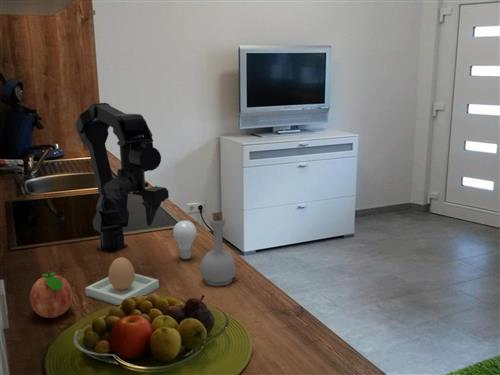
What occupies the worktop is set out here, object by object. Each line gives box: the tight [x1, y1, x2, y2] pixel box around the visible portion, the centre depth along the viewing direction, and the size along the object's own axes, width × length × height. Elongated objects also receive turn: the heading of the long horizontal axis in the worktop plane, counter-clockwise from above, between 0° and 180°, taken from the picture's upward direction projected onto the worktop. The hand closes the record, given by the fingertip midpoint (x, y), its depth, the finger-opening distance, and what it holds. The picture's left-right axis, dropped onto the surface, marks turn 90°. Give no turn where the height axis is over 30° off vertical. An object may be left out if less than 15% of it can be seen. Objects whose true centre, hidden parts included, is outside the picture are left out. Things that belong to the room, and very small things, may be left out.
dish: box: [84, 273, 160, 306], centre depth 125 cm, size 12×12×2 cm
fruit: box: [29, 270, 74, 319], centre depth 113 cm, size 9×10×10 cm
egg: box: [108, 256, 136, 290], centre depth 124 cm, size 6×6×8 cm
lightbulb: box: [172, 220, 197, 261], centre depth 143 cm, size 6×6×11 cm
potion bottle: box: [199, 211, 237, 287], centre depth 129 cm, size 9×9×18 cm
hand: (136, 222), depth 138 cm, fingers open, 9 cm apart
